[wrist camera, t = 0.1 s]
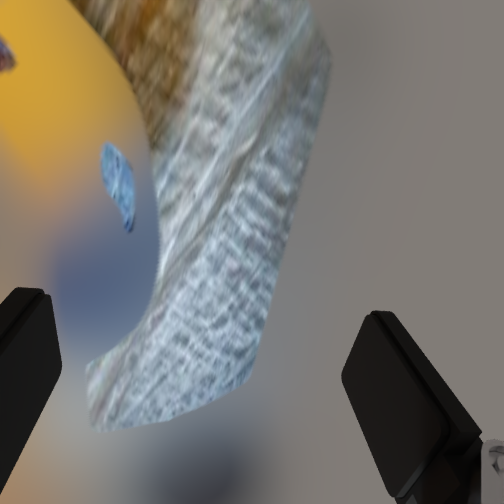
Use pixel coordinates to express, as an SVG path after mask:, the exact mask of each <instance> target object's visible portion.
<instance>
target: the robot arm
mask: <svg viewBox="0 0 504 504" xmlns="http://www.w3.org/2000/svg"><path fill="white" fill-rule="evenodd" d="M61 370H62V361H61V355H60V349H59V342H58V336H57V330H56V324H55V318H54V312H53V306H52V300H51V296H50V295H47V294H45V293H44V291H43V290H42V289H39V288H22V287H18V288H15V289H14V290H13V291H12V292H11V293H10V294H9V295H8V296H7V297H6V299H5V300H4V301H3V302H2V303H1V304H0V494H1V492H2V490H3V488H4V486H5V484H6V482H7V480H8V478H9V476H10V474H11V472H12V470H13V468H14V466H15V464H16V462H17V460H18V458H19V456H20V454H21V452H22V450H23V448H24V446H25V444H26V442H27V440H28V438H29V436H30V434H31V432H32V430H33V428H34V426H35V424H36V422H37V420H38V418H39V417H40V414H41V412H42V411H43V408H44V407H45V405H46V402H47V401H48V399H49V397H50V395H51V393H52V391H53V389H54V386H55V384H56V383H57V381H58V379H59V376H60V374H61ZM341 376H342V383H343V386H344V388H345V391H346V393H347V395H348V398H349V400H350V403H351V405H352V408H353V410H354V412H355V415H356V417H357V420H358V422H359V424H360V427H361V429H362V431H363V434H364V436H365V439H366V441H367V443H368V446H369V448H370V451H371V453H372V456H373V458H374V461H375V463H376V465H377V468H378V470H379V473H380V475H381V477H382V480H383V482H384V484H385V487H386V489H387V491H388V493H389V494H390V496H392V497H394V498H395V500H396V503H397V504H504V441H500V440H495V439H493V440H487V441H486V442H485V443H483V442H482V440H481V439H480V438H479V436H480V434H481V433H482V431H481V430H480V428H479V427H478V426H477V424H476V423H475V422H474V420H473V419H472V417H471V416H470V415H469V413H468V412H467V411H466V409H465V408H464V407H463V406H462V404H461V403H460V402H459V400H458V399H457V397H456V396H455V395H454V393H453V392H452V391H451V389H450V388H449V387H448V385H447V384H446V383H445V381H444V380H443V379H442V377H441V376H440V375H439V373H438V372H437V371H436V369H435V368H434V367H433V365H432V364H431V363H430V361H429V360H428V359H427V357H426V356H425V355H424V353H423V352H422V350H421V349H420V348H419V346H418V345H417V344H416V342H415V341H414V340H413V339H412V337H411V336H410V334H409V333H408V332H407V330H406V329H405V328H404V326H403V325H402V324H401V322H400V321H399V320H398V318H397V317H396V316H395V314H394V313H392V312H390V311H372V312H371V313H370V315H367V316H366V317H365V319H364V321H363V323H362V326H361V328H360V330H359V333H358V335H357V337H356V340H355V342H354V345H353V347H352V349H351V352H350V354H349V356H348V359H347V361H346V363H345V366H344V368H343V371H342V375H341Z"/></svg>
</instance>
